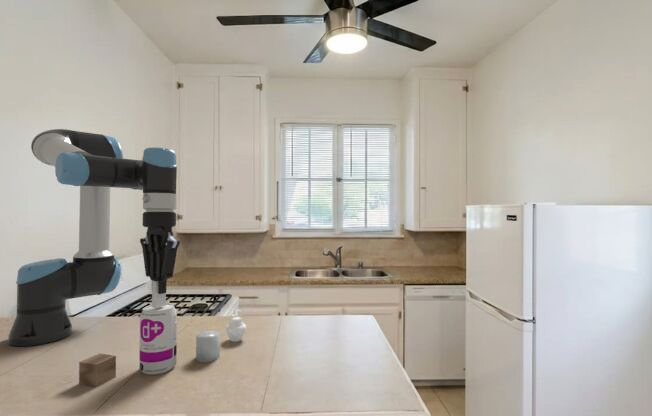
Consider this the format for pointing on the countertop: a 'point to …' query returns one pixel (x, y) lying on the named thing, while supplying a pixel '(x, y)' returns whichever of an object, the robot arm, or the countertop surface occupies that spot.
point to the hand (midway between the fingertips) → (158, 306)
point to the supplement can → (158, 339)
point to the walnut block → (97, 370)
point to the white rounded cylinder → (207, 346)
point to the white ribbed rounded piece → (236, 329)
